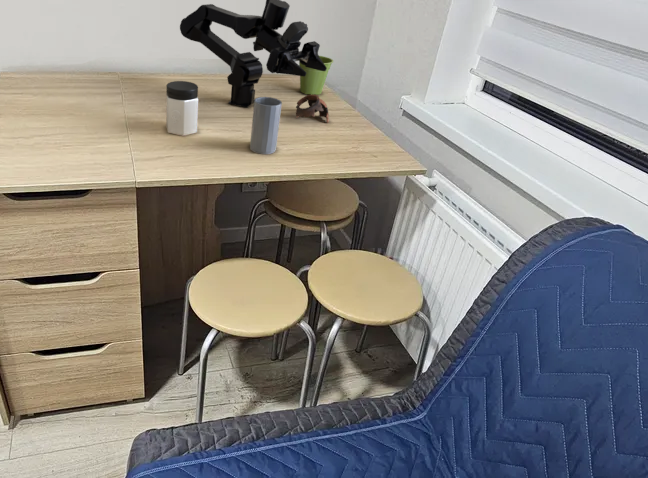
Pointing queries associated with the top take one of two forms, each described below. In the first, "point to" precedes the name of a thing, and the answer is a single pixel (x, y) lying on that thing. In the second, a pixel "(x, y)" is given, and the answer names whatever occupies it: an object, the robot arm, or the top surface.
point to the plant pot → (314, 78)
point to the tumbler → (265, 125)
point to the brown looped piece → (312, 107)
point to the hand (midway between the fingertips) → (315, 72)
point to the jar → (181, 107)
